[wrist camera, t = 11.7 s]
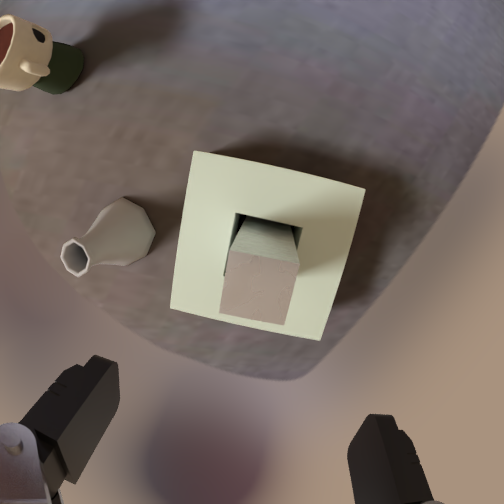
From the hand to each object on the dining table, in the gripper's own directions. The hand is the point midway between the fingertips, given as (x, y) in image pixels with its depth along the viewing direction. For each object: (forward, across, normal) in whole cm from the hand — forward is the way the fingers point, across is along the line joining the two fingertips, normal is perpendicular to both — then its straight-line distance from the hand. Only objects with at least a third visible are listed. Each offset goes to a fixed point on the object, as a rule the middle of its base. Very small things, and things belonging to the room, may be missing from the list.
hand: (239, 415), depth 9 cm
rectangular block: (+24, 0, 0) cm, 24 cm away
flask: (+24, +15, +3) cm, 29 cm away
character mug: (+24, +27, -15) cm, 39 cm away
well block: (+24, 0, 0) cm, 24 cm away
